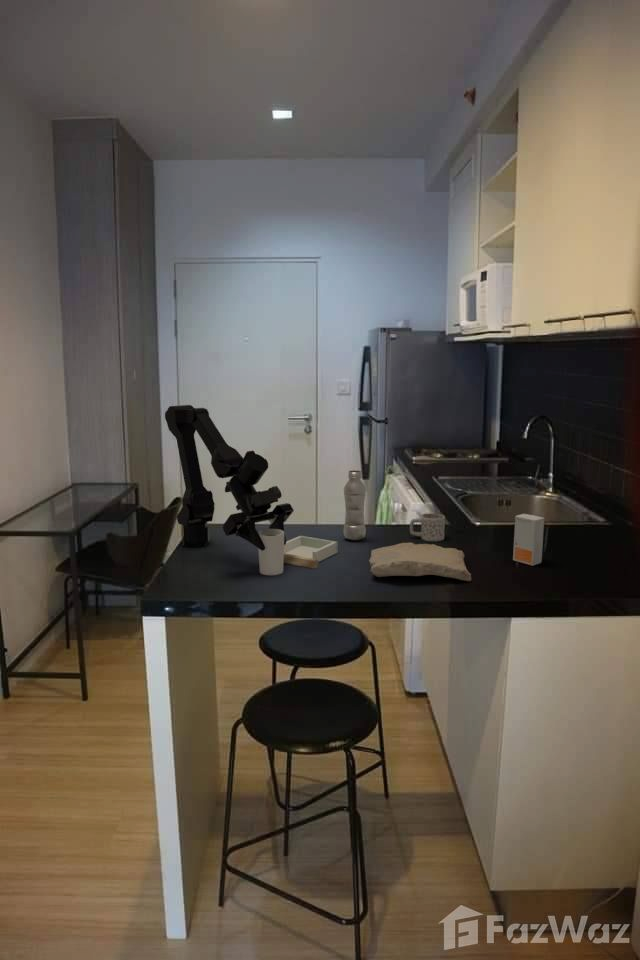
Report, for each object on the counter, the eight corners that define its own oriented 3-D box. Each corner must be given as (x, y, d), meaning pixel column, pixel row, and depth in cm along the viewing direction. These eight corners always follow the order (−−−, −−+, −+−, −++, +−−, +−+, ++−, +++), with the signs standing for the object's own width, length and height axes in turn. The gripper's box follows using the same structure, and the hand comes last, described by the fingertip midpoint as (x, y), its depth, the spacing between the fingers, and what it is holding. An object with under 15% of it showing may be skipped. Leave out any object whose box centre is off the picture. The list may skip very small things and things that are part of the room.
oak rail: (263, 558, 175) (262, 551, 175) (266, 557, 176) (266, 549, 176) (314, 568, 167) (314, 561, 166) (317, 567, 168) (317, 559, 168)
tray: (313, 564, 170) (313, 553, 170) (275, 557, 176) (275, 546, 176) (337, 552, 180) (337, 541, 180) (300, 546, 186) (300, 535, 186)
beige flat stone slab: (473, 591, 153) (464, 557, 173) (473, 561, 151) (464, 530, 170) (367, 592, 156) (370, 558, 175) (366, 562, 154) (369, 531, 173)
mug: (442, 535, 197) (442, 513, 196) (445, 541, 190) (446, 518, 189) (408, 535, 197) (408, 513, 196) (410, 541, 191) (411, 518, 189)
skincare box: (512, 560, 172) (514, 515, 170) (521, 557, 175) (524, 513, 173) (532, 566, 168) (535, 520, 166) (542, 562, 170) (545, 517, 168)
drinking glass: (284, 575, 162) (283, 536, 160) (256, 576, 162) (255, 536, 160) (285, 567, 168) (285, 528, 166) (259, 567, 168) (258, 528, 166)
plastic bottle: (366, 536, 196) (366, 469, 192) (365, 543, 189) (365, 473, 185) (344, 536, 196) (344, 469, 192) (342, 542, 190) (342, 473, 186)
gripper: (228, 481, 157) (258, 536, 151) (288, 471, 169) (318, 521, 164) (210, 508, 164) (238, 561, 158) (269, 497, 177) (297, 546, 171)
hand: (274, 547), depth 163 cm, fingers closed on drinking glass, 6 cm apart
